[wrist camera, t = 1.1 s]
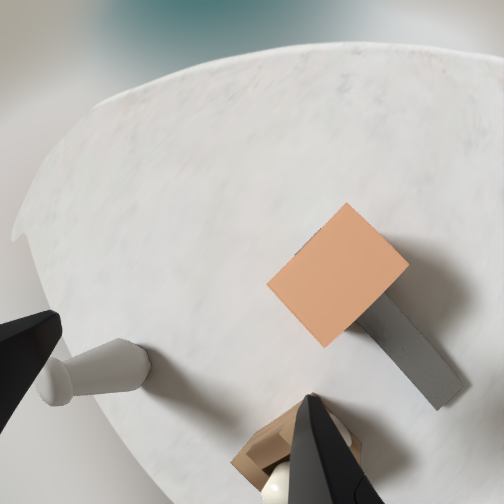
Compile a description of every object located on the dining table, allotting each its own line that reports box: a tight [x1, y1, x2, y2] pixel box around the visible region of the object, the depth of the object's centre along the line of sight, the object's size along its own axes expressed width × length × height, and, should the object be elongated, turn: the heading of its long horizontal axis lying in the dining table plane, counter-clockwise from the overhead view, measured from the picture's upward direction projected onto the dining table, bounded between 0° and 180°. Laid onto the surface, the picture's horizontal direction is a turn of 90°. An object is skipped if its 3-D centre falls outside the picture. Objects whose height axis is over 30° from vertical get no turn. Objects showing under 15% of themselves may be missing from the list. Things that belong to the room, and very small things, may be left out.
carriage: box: [266, 202, 410, 348], centre depth 20 cm, size 5×7×8 cm
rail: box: [295, 228, 464, 411], centre depth 21 cm, size 18×3×2 cm, turn 43°
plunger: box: [261, 461, 290, 504], centre depth 16 cm, size 3×3×3 cm
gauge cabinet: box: [230, 393, 362, 492], centre depth 20 cm, size 7×7×6 cm
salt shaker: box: [34, 338, 151, 406], centre depth 24 cm, size 6×6×13 cm
